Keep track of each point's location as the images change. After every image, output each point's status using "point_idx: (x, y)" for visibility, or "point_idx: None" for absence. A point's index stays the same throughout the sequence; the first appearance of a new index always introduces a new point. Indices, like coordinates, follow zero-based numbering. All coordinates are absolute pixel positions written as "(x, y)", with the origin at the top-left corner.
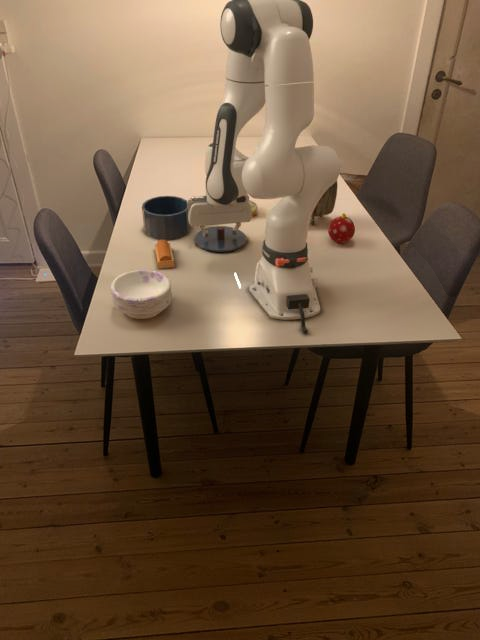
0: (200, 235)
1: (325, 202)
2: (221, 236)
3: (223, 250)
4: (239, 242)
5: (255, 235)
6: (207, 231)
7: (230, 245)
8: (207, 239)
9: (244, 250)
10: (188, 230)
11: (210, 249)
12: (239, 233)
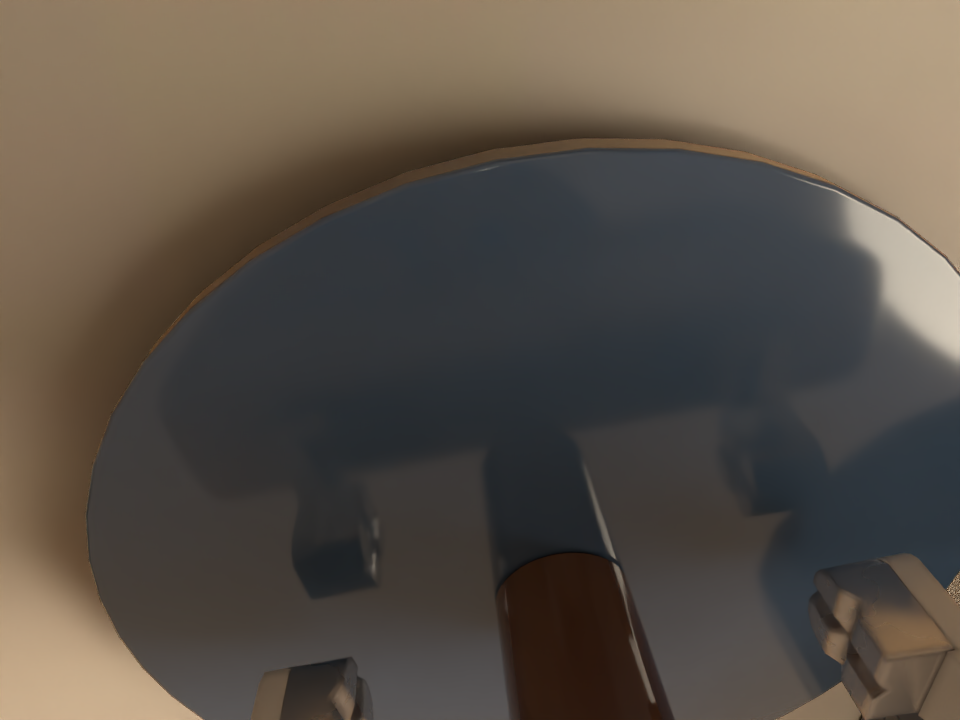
0: None
1: None
2: (564, 605)
3: (547, 151)
4: (197, 491)
5: (40, 688)
6: (885, 690)
7: (376, 378)
8: (792, 535)
9: (63, 285)
10: None
11: (857, 196)
12: None
